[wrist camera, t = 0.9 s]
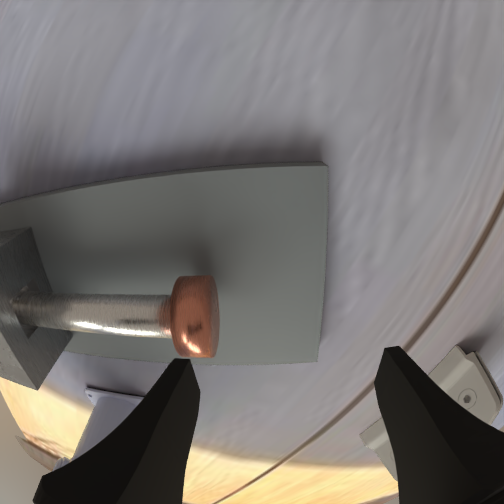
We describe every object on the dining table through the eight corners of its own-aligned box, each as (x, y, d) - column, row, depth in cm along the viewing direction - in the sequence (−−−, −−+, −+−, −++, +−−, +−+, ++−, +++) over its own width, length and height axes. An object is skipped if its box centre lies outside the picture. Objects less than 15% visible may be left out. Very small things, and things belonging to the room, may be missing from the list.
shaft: (222, 322, 18) (212, 374, 14) (47, 314, 19) (19, 349, 15) (213, 260, 16) (197, 307, 12) (28, 266, 17) (-7, 297, 13)
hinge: (458, 342, 22) (513, 415, 14) (471, 341, 24) (519, 403, 16) (357, 436, 29) (390, 499, 21) (379, 429, 31) (411, 485, 23)
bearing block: (73, 336, 21) (37, 390, 15) (29, 330, 21) (-5, 374, 15) (31, 226, 17) (-29, 268, 11) (-10, 233, 17) (-60, 269, 11)
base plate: (314, 348, 22) (317, 361, 21) (45, 336, 23) (38, 345, 22) (322, 161, 16) (327, 165, 15) (-4, 205, 18) (-16, 210, 16)
